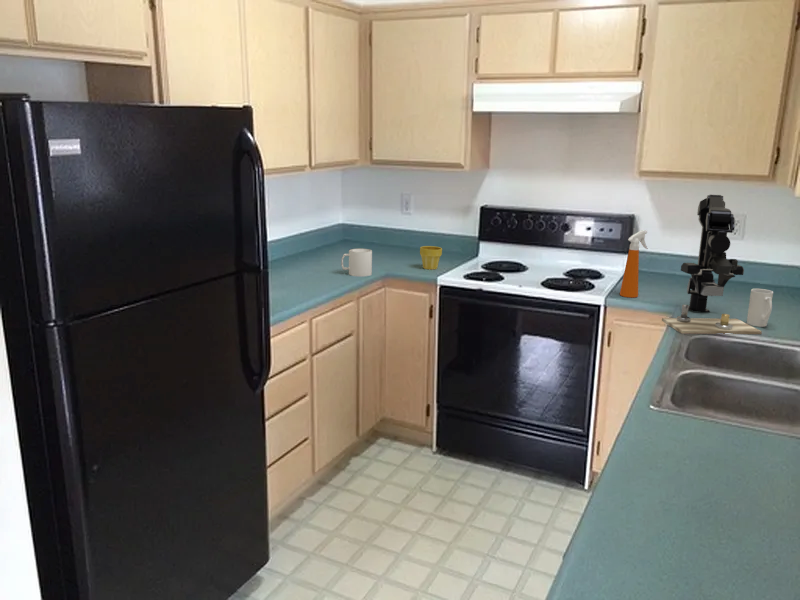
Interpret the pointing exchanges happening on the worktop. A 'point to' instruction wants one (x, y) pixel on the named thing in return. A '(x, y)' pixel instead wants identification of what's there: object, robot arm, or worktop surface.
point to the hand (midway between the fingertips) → (708, 293)
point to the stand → (684, 314)
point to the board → (709, 326)
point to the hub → (724, 323)
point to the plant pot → (430, 256)
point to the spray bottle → (632, 266)
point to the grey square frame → (711, 289)
